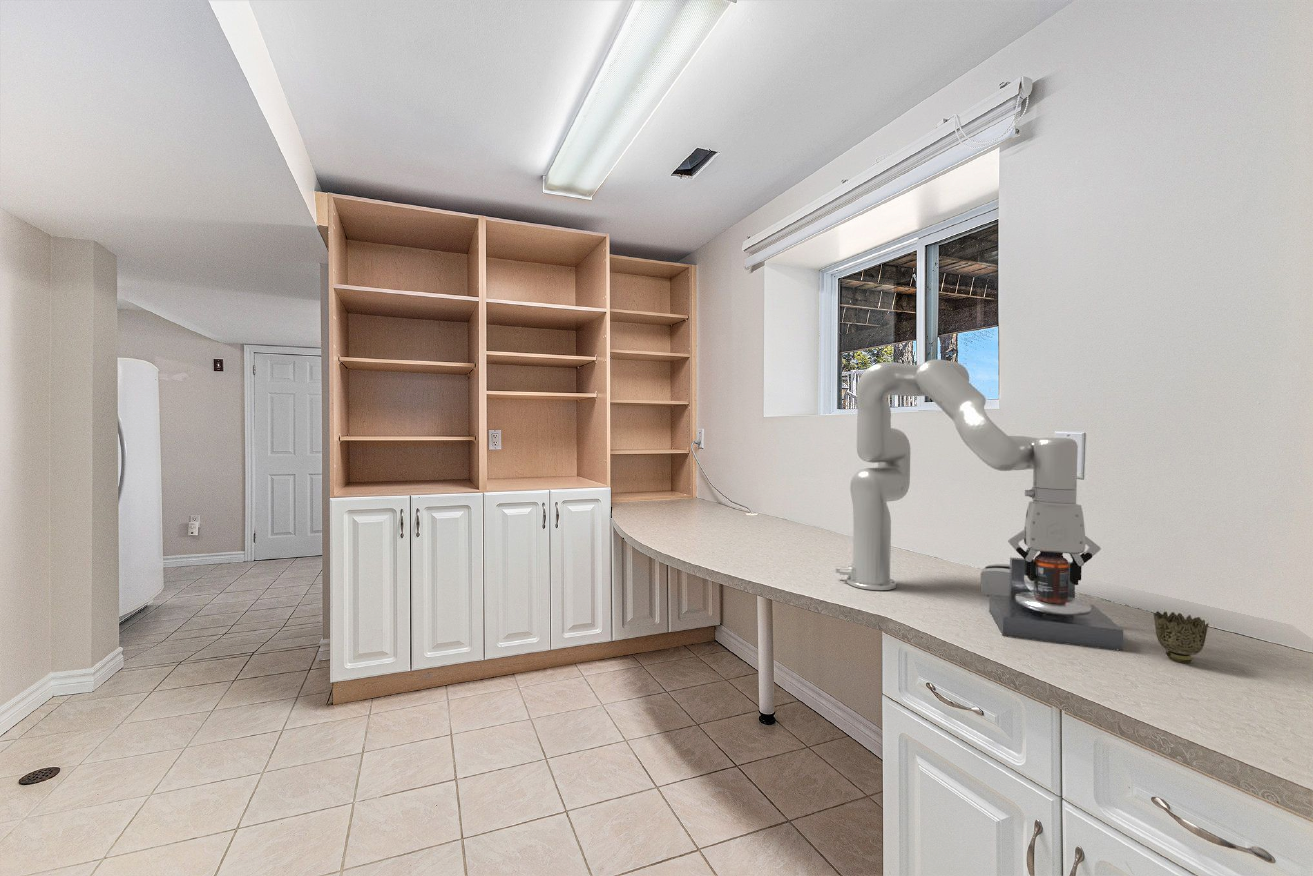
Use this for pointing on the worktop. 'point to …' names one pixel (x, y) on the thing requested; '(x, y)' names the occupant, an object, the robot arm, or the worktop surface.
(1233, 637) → the worktop surface
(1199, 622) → the cup
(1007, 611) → the dial scale
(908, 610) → the worktop surface
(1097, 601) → the worktop surface
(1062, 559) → the supplement bottle
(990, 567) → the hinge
